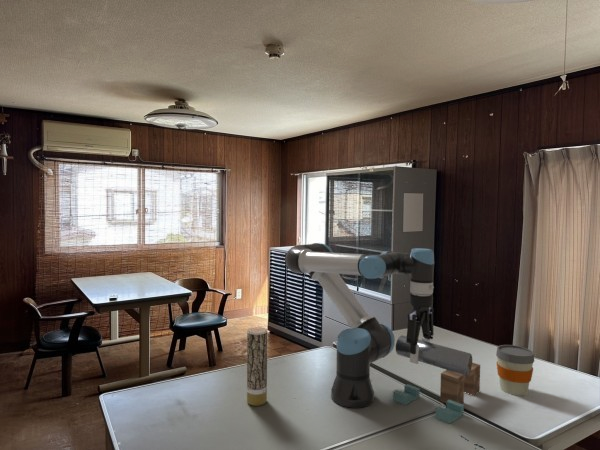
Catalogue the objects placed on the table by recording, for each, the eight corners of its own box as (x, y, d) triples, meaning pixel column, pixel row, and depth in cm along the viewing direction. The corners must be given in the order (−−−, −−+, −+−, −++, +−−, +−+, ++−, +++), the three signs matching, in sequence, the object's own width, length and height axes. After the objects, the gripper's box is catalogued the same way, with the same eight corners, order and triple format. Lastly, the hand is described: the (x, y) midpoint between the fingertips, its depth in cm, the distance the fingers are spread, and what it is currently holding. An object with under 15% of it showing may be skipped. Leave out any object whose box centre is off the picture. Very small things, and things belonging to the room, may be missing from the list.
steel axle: (471, 372, 131) (472, 351, 130) (462, 378, 126) (463, 355, 126) (405, 352, 148) (406, 333, 148) (395, 356, 143) (396, 337, 143)
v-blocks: (450, 423, 127) (450, 414, 127) (393, 399, 142) (393, 391, 142) (463, 414, 133) (463, 405, 133) (407, 392, 148) (407, 384, 148)
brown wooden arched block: (456, 407, 137) (457, 378, 137) (440, 401, 142) (440, 373, 141) (479, 391, 150) (480, 364, 149) (463, 386, 154) (464, 360, 154)
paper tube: (248, 407, 135) (248, 333, 134) (245, 398, 142) (246, 327, 141) (268, 405, 137) (269, 332, 136) (264, 396, 144) (265, 326, 143)
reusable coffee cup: (487, 385, 155) (488, 346, 154) (512, 380, 159) (513, 343, 159) (515, 400, 143) (516, 358, 143) (541, 394, 148) (542, 354, 147)
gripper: (416, 300, 129) (414, 370, 130) (445, 291, 143) (443, 355, 144) (396, 296, 135) (394, 364, 136) (425, 288, 149) (424, 350, 150)
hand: (419, 359), depth 140 cm, fingers closed on steel axle, 7 cm apart
